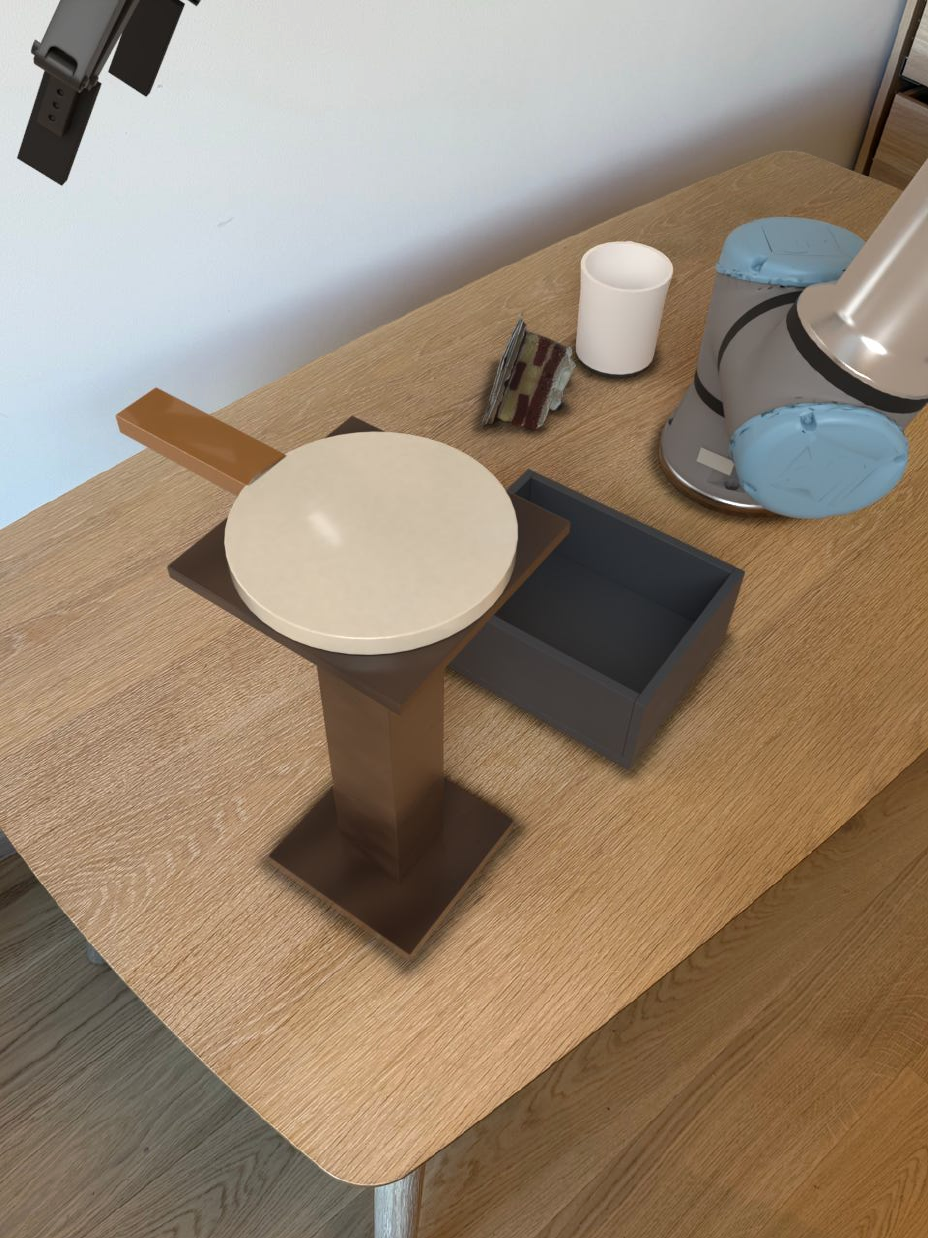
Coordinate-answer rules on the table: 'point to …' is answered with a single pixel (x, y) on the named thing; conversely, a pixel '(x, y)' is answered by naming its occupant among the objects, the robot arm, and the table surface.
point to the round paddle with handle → (347, 528)
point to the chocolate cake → (529, 379)
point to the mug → (621, 307)
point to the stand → (385, 760)
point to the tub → (603, 626)
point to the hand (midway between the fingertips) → (88, 123)
